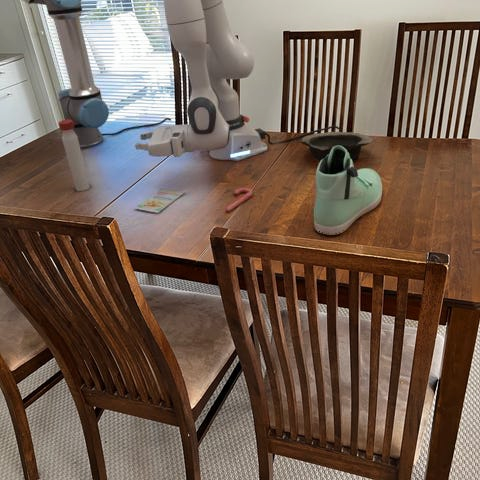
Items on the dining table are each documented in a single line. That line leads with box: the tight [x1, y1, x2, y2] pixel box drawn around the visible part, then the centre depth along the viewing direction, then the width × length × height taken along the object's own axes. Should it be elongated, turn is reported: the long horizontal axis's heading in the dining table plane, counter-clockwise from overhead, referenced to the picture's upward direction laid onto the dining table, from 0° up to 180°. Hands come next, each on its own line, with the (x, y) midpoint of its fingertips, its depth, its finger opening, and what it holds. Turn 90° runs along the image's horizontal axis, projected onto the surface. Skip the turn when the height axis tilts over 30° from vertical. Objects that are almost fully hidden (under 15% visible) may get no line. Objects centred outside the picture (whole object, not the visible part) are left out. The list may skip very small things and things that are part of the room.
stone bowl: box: [300, 131, 374, 164], centre depth 169 cm, size 25×25×9 cm
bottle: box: [61, 129, 91, 192], centre depth 159 cm, size 5×5×23 cm
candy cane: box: [224, 187, 254, 213], centre depth 147 cm, size 6×15×2 cm, turn 145°
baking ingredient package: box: [134, 188, 184, 214], centre depth 151 cm, size 9×1×15 cm
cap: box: [57, 119, 74, 132], centre depth 153 cm, size 4×4×2 cm
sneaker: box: [313, 146, 383, 236], centre depth 133 cm, size 14×35×20 cm, turn 152°
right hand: (138, 141), depth 156 cm, fingers open, 8 cm apart
